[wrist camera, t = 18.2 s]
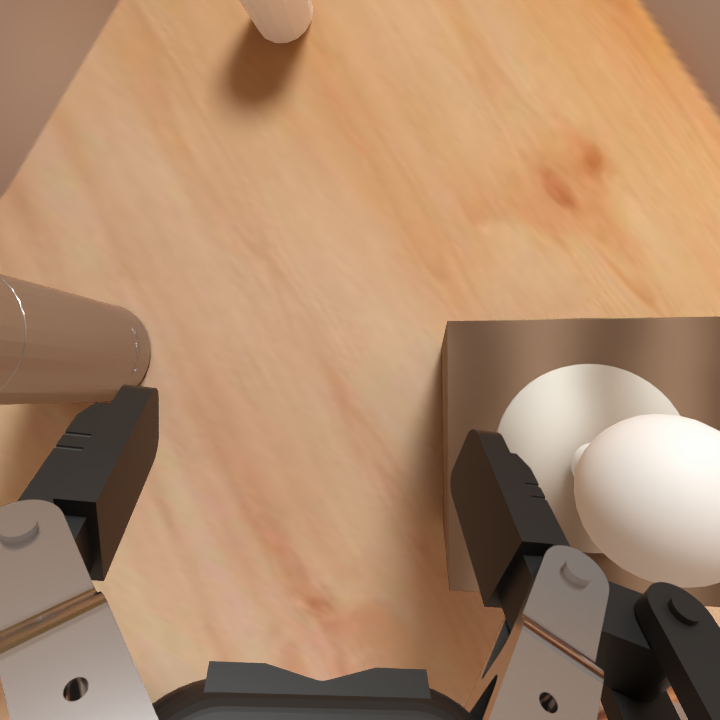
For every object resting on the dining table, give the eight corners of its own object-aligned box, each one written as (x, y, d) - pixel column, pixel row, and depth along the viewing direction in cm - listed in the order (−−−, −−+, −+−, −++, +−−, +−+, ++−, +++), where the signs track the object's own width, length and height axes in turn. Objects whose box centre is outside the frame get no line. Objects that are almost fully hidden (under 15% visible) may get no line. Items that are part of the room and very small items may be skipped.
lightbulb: (678, 463, 25) (870, 519, 14) (596, 547, 26) (722, 663, 15) (586, 382, 26) (701, 378, 15) (507, 465, 26) (565, 518, 16)
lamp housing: (443, 522, 41) (449, 593, 26) (441, 340, 42) (447, 313, 27) (634, 531, 39) (753, 612, 24) (628, 338, 40) (739, 307, 25)
